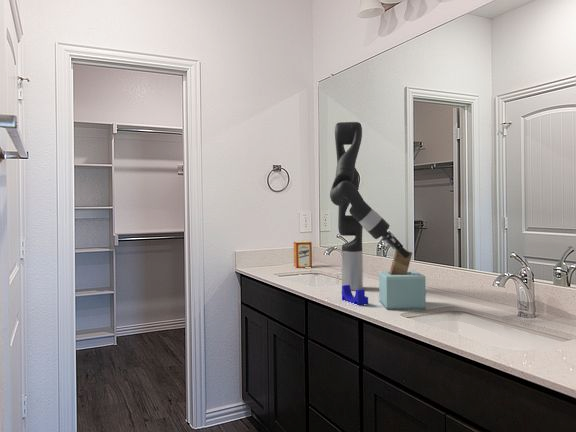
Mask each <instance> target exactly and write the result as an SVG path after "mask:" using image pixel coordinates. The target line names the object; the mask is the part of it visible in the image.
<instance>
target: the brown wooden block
mask: <svg viewBox="0 0 576 432" xmlns="http://www.w3.org/2000/svg"><path fill="white" fill-rule="evenodd" d="M406 251H407V252H408V253H409V254H410V255H409V256H408V257H407V258H405V257H404V256H403V255H402V254H401V253H400V252H398V251H397V250H394V255H393V258H392V259H393V260H392V261H391V266H390V270H389V271H390V273H389V274H391V275H407V271H409V266H410V263H411V259H412V257H413V256H412V255H413V252H411V251H409V250H406Z"/></svg>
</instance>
